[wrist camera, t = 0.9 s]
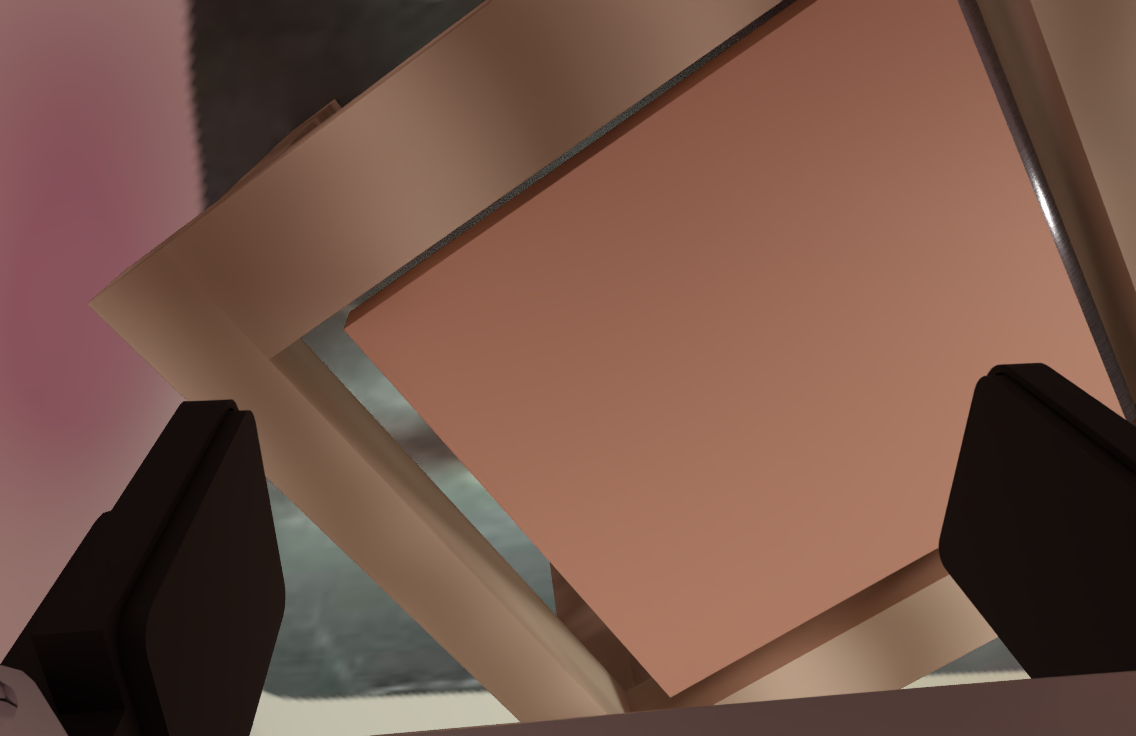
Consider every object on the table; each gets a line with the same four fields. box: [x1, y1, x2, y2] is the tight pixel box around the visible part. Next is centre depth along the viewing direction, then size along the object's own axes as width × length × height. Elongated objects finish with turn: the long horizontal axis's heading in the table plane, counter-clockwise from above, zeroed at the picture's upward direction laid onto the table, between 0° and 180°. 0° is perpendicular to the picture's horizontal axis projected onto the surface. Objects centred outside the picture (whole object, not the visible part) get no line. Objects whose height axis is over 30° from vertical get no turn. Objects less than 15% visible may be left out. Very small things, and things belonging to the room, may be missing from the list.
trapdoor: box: [344, 0, 1136, 697], centre depth 20 cm, size 14×14×1 cm
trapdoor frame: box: [87, 0, 1136, 722], centre depth 29 cm, size 21×21×21 cm
